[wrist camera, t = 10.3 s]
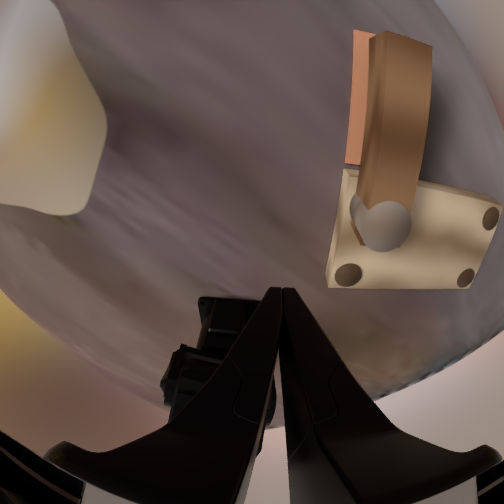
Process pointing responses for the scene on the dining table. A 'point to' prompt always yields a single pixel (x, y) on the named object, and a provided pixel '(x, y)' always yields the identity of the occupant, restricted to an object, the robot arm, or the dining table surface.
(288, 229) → the dining table surface
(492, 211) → the birch seat
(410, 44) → the walnut leg
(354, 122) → the marker strip
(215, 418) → the robot arm
